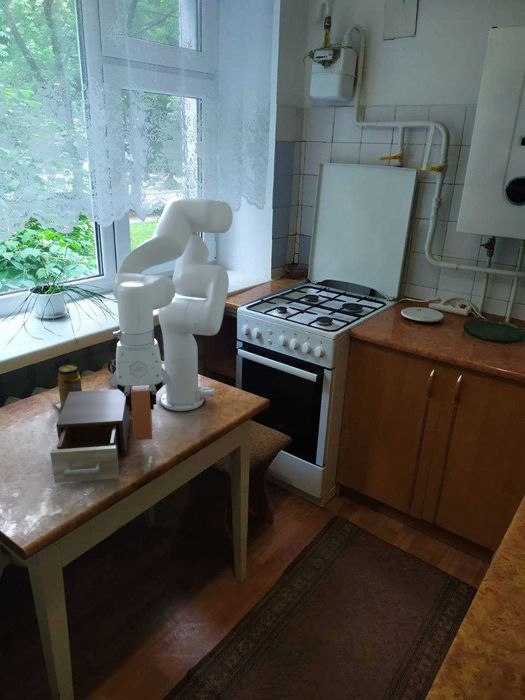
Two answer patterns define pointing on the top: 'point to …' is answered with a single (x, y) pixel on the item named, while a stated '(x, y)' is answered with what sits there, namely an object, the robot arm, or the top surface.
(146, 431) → the block
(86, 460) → the drawer
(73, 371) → the condiment
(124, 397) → the cabinet
